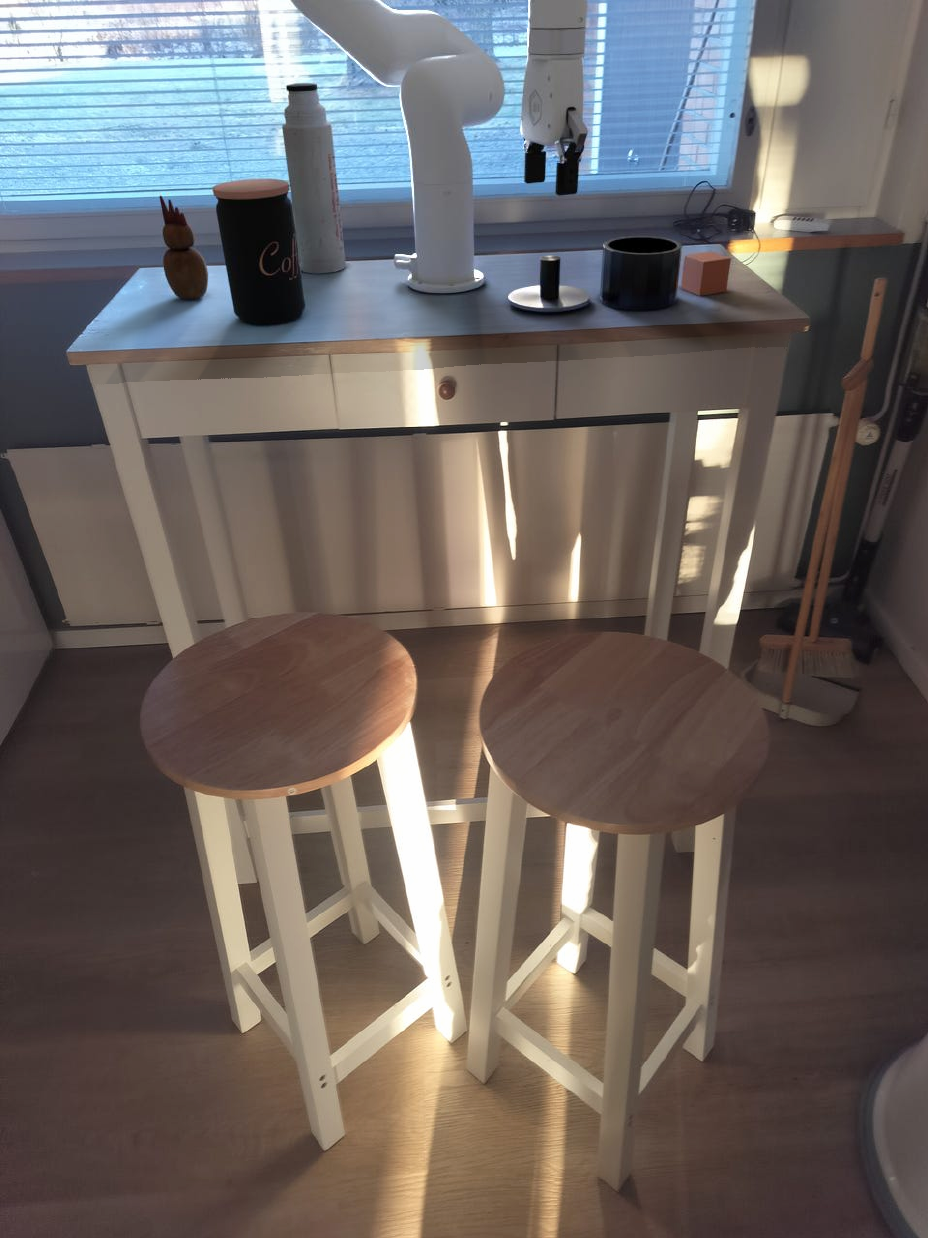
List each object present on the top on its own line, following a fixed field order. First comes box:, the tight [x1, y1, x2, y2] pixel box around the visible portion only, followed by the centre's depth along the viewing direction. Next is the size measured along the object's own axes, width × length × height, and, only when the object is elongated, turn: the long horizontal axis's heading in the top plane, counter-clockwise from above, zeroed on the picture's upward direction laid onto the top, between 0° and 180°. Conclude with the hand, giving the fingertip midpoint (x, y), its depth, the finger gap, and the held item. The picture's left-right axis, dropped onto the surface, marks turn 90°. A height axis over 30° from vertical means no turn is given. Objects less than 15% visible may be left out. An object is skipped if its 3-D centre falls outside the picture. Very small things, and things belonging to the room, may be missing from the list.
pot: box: [599, 235, 683, 312], centre depth 131 cm, size 11×12×8 cm
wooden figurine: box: [158, 195, 209, 301], centre depth 137 cm, size 7×6×15 cm
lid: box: [508, 255, 591, 313], centre depth 131 cm, size 12×12×7 cm
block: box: [680, 250, 732, 297], centre depth 136 cm, size 5×5×5 cm
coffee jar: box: [212, 178, 306, 326], centre depth 126 cm, size 11×11×18 cm
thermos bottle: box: [281, 82, 347, 274], centre depth 146 cm, size 8×8×28 cm
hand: (549, 188), depth 124 cm, fingers open, 9 cm apart
